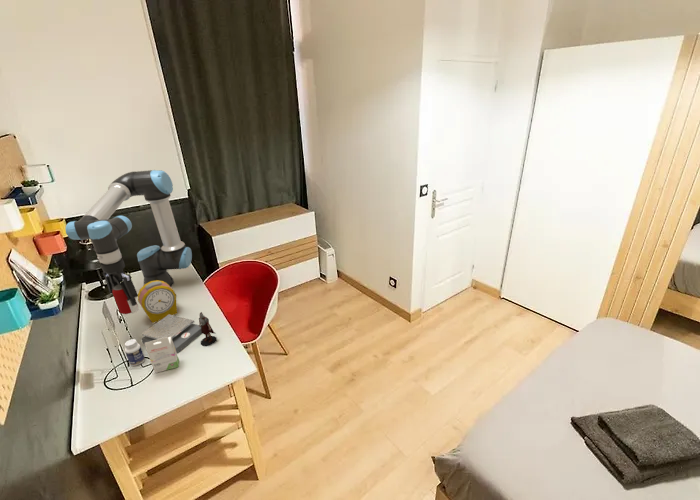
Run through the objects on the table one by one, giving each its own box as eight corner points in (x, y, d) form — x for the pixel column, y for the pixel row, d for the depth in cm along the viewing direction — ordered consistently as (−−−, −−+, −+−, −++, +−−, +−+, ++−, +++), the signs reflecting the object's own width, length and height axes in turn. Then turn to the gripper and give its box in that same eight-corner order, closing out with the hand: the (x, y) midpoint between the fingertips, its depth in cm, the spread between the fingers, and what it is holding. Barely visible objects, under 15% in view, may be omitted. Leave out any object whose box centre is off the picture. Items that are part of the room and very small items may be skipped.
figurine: (197, 344, 152) (188, 314, 145) (209, 334, 158) (202, 305, 151) (208, 347, 149) (200, 318, 143) (221, 337, 155) (214, 308, 149)
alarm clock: (148, 325, 166) (137, 292, 158) (144, 318, 171) (132, 285, 164) (181, 312, 174) (171, 280, 167) (176, 305, 180) (166, 274, 172)
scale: (171, 322, 167) (170, 316, 166) (204, 330, 160) (203, 325, 159) (142, 343, 154) (140, 337, 153) (177, 353, 147) (175, 347, 145)
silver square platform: (170, 317, 165) (169, 314, 164) (194, 323, 160) (193, 320, 159) (142, 337, 153) (141, 333, 152) (168, 344, 147) (166, 340, 147)
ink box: (179, 359, 144) (169, 329, 137) (178, 367, 139) (168, 337, 133) (155, 365, 141) (145, 335, 135) (154, 373, 137) (143, 343, 130)
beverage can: (136, 304, 152) (127, 280, 147) (140, 310, 148) (131, 285, 143) (118, 310, 148) (109, 286, 143) (122, 317, 144) (112, 292, 139)
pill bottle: (138, 367, 140) (130, 347, 136) (126, 365, 142) (119, 346, 138) (148, 357, 145) (141, 338, 141) (136, 356, 146) (129, 337, 142)
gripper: (85, 260, 139) (105, 309, 149) (118, 268, 131) (137, 319, 141) (104, 253, 145) (122, 300, 155) (137, 259, 137) (153, 309, 147)
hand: (129, 309), depth 148 cm, fingers closed on beverage can, 7 cm apart
